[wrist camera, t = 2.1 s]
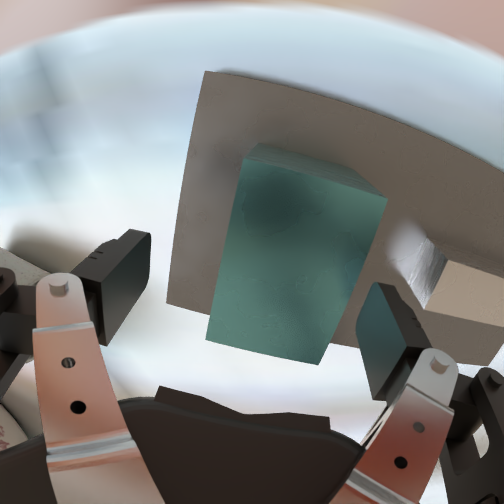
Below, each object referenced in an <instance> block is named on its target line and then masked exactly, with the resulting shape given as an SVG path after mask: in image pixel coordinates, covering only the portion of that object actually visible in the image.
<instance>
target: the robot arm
mask: <svg viewBox="0 0 504 504" xmlns="http://www.w3.org/2000/svg"><path fill="white" fill-rule="evenodd" d="M150 252H151V234H150V233H147V232H143V231H138V230H134V229H129V230H128V231H127V232H125V233H124V234H123V235H122V236H121V237H120V238H119V239H118V240H117V239H112V240H110V241H107V242H105V243H103V244H101V245H100V246H99V247H98V248H97V249H96V250H95V251H94V252H92V253H91V254H90V255H89V256H88V257H87V258H85V259H84V260H83V261H82V262H81V263H80V264H79V265H78V266H77V267H76V268H75V269H73V270H72V271H71V272H70V273H54V274H50V275H47V276H45V277H44V278H42V279H41V280H40V281H39V282H38V284H37V286H27V285H17V281H16V276H15V273H14V272H13V271H12V270H11V269H9V268H4V267H0V400H1V399H2V397H3V396H4V394H5V393H6V391H7V389H8V388H9V386H10V385H11V383H12V382H13V380H14V379H15V377H16V376H17V374H18V373H19V371H20V370H21V368H22V367H23V365H24V364H25V362H26V361H27V360H28V358H29V357H30V355H33V356H34V366H35V377H36V386H37V394H38V402H39V409H40V415H41V421H42V426H43V432H44V434H41V435H39V436H37V437H34V438H32V439H29V440H27V441H24V442H22V443H20V444H17V445H15V446H12V447H10V448H7V449H4V450H2V451H0V504H420V503H419V501H420V499H421V497H422V495H423V492H424V490H425V488H426V486H427V484H428V482H429V479H430V477H431V475H432V472H433V470H434V468H435V465H436V463H437V460H438V458H439V460H440V464H441V468H442V473H443V478H444V483H445V488H446V493H447V498H448V504H504V377H503V376H502V375H501V374H500V373H499V372H497V371H496V370H494V369H491V368H488V367H484V368H481V369H480V370H479V371H478V373H477V374H476V376H475V377H474V378H471V377H468V376H465V375H462V374H460V373H459V369H458V366H457V364H456V362H455V361H454V360H453V359H452V358H451V357H450V356H449V355H448V354H446V353H445V352H443V351H441V350H438V349H434V348H433V347H432V345H431V343H430V341H429V339H428V337H427V335H426V334H425V332H424V330H423V328H421V327H422V326H421V324H420V322H419V321H418V320H417V319H418V318H417V317H416V315H415V313H414V311H413V309H412V308H411V307H410V306H409V305H407V304H406V303H405V302H404V301H403V300H402V298H401V297H400V295H399V293H398V291H397V289H396V287H395V286H394V285H389V284H384V283H379V282H374V283H373V284H372V286H371V287H370V290H369V292H368V294H367V297H366V299H365V302H364V304H363V306H362V308H361V311H360V313H359V315H358V318H357V321H356V328H355V331H356V336H357V340H358V343H359V347H360V351H361V355H362V359H363V362H364V366H365V370H366V374H367V378H368V382H369V387H370V391H371V395H372V399H373V400H378V401H386V402H387V405H386V406H385V408H384V409H383V410H382V412H381V413H380V415H379V416H378V418H377V419H376V421H375V422H374V424H373V425H372V427H371V428H370V430H369V431H368V433H367V434H366V436H365V437H364V438H363V440H362V441H361V443H360V444H359V443H357V442H356V441H354V440H353V439H351V438H349V437H347V436H345V435H343V434H341V433H339V432H336V431H334V430H331V429H330V419H329V417H325V416H315V415H306V414H298V413H290V412H287V413H272V414H242V413H239V412H237V411H234V410H232V409H229V408H227V407H225V406H222V405H220V404H218V403H215V402H213V401H211V400H209V399H206V398H204V397H202V396H198V395H194V394H190V393H186V392H182V391H178V390H174V389H170V388H167V387H163V386H159V388H158V391H157V393H156V396H155V397H135V398H128V399H123V400H119V401H117V399H116V396H115V393H114V391H113V388H112V385H111V382H110V379H109V376H108V373H107V369H106V366H105V363H104V360H103V356H102V353H101V350H100V346H99V344H101V345H103V346H106V347H107V346H108V344H109V343H110V341H111V339H112V338H113V336H114V335H115V333H116V332H117V330H118V329H119V327H120V325H121V324H122V322H123V321H124V319H125V318H126V316H127V315H128V313H129V312H130V310H131V309H132V307H133V306H134V304H135V303H136V301H137V300H138V298H139V297H140V295H141V294H142V292H143V291H144V289H145V288H146V285H147V283H148V279H149V272H150ZM482 424H484V427H485V430H486V432H487V435H488V438H489V448H488V450H487V452H486V454H485V455H484V456H483V457H482V458H481V459H480V456H479V453H478V450H477V447H476V443H475V440H474V437H473V434H474V433H475V431H476V430H477V429H478V428H479V427H480V426H481V425H482Z"/></svg>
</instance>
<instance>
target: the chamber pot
mask: <svg viewBox="0 0 504 504" xmlns="http://www.w3.org/2000/svg"><path fill="white" fill-rule="evenodd" d="M27 440H28V438H27V436H26V435H25V433H24V431H23V430H22V429H21V427H20V426H19V424H18V423H17V422H16V420H15V419H14V418H13V416H12V415H11V414H10V413H9V412H8V411H7V410H6V409H5V407H4V406H3V405H2V404H1V403H0V451H2V450H4V449H7V448H10V447H12V446H15V445H17V444H20V443H22V442H24V441H27Z"/></svg>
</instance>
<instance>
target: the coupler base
mask: <svg viewBox="0 0 504 504" xmlns="http://www.w3.org/2000/svg"><path fill="white" fill-rule="evenodd" d="M258 143H260V144H264V145H268V146H272V147H276V148H280V149H284V150H288V151H292V152H296V153H299V154H303V155H307V156H310V157H314V158H317V159H321V160H324V161H328V162H331V163H335V164H338V165H341V166H344V167H348V168H351V169H354V170H355V171H356V172H357V173H358V174H360V175H361V176H362V177H363V178H364V179H366V180H367V181H368V182H369V183H370V184H371V185H373V186H374V187H375V188H376V189H377V190H378V191H380V192H381V193H382V194H383V195H384V196H385V197H386V198H388V201H387V204H386V206H385V209H384V212H383V215H382V218H381V221H380V223H379V226H378V229H377V232H376V234H375V237H374V240H373V242H372V245H371V247H370V250H369V253H368V255H367V258H366V260H365V263H364V265H363V268H362V270H361V273H360V275H359V277H358V280H357V282H356V285H355V287H354V289H353V292H352V294H351V296H350V299H349V301H348V303H347V305H346V308H345V310H344V312H343V314H342V317H341V319H340V321H339V323H338V325H337V328H336V330H335V332H334V334H333V336H332V338H331V340H330V342H329V343H334V344H339V345H344V346H349V347H355V348H360V347H359V343H358V340H357V336H356V331H355V328H356V321H357V318H358V315H359V313H360V311H361V308H362V306H363V304H364V302H365V299H366V297H367V294H368V292H369V290H370V287H371V286H372V284H373V283H374V282H379V283H384V284H389V285H394V286H395V287H396V289H397V291H398V293H399V295H400V297H401V298H402V300H403V301H404V302H405V303H406V304H407V305H409V306H410V307H411V308H412V309H413V311H414V313H415V315H416V317H417V318H418V319H417V320H418V321H419V322H420V324H421V326H422V327H421V328H423V330H424V332H425V334H426V335H427V337H428V339H429V341H430V343H431V345H432V347H433V348H434V349H438V350H441V351H443V352H445V353H446V354H448V355H449V356H450V357H451V358H452V359H453V360H454V361H455V362H456V363H462V364H471V365H480V366H488V365H489V364H490V362H491V361H492V360H493V358H494V357H495V355H496V354H497V352H498V351H499V349H500V348H501V346H502V345H503V343H504V173H503V172H501V171H500V170H498V169H496V168H494V167H493V166H491V165H489V164H487V163H485V162H483V161H482V160H480V159H478V158H476V157H474V156H472V155H470V154H468V153H466V152H464V151H462V150H460V149H458V148H456V147H454V146H452V145H450V144H448V143H446V142H444V141H442V140H439V139H437V138H435V137H433V136H431V135H428V134H426V133H424V132H421V131H419V130H417V129H414V128H412V127H410V126H407V125H405V124H402V123H400V122H397V121H395V120H392V119H389V118H387V117H384V116H381V115H379V114H376V113H373V112H370V111H367V110H365V109H362V108H359V107H356V106H353V105H350V104H347V103H344V102H340V101H337V100H334V99H331V98H327V97H324V96H320V95H317V94H313V93H310V92H306V91H302V90H298V89H295V88H291V87H287V86H282V85H278V84H274V83H269V82H265V81H260V80H255V79H251V78H245V77H240V76H235V75H229V74H223V73H217V72H211V71H205V73H204V77H203V81H202V86H201V90H200V94H199V99H198V103H197V108H196V113H195V118H194V122H193V127H192V132H191V137H190V143H189V148H188V153H187V159H186V164H185V170H184V176H183V181H182V187H181V194H180V200H179V206H178V213H177V220H176V227H175V234H174V241H173V249H172V256H171V265H170V273H169V282H168V291H167V301H166V303H167V304H171V305H174V306H178V307H181V308H185V309H189V310H192V311H196V312H200V313H203V314H207V315H210V313H211V308H212V303H213V298H214V293H215V288H216V283H217V278H218V273H219V268H220V263H221V259H222V254H223V249H224V244H225V239H226V235H227V230H228V225H229V221H230V216H231V211H232V207H233V202H234V198H235V193H236V189H237V184H238V180H239V175H240V171H241V167H242V162H243V158H244V157H245V156H246V155H247V154H248V153H249V152H250V151H251V150H252V149H253V148H254V147H255V146H256V145H257V144H258Z"/></svg>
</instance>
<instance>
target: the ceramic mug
mask: <svg viewBox="0 0 504 504" xmlns="http://www.w3.org/2000/svg"><path fill="white" fill-rule="evenodd" d="M0 267H4V268H9V269H11V270H12V271H13V272H14V273H15V276H16V281H17V285H27V286H37V284H38V282H39V281H40V280H41V279H42V278H44V277H45V276H47V275H50V274H51V273H49V272H47V271H45V270H43V269H41V268H39V267H37V266H35V265H33V264H31V263H29V262H27V261H25V260H23V259H21V258H19V257H17V256H16V255H14V254H12V253H10V252H9V251H7V250H5V249H3V248H1V247H0ZM32 360H34V356H33V355H30V357H29V358H28V360H27V361H26V362H25V363H28V362H30V361H32Z"/></svg>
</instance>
